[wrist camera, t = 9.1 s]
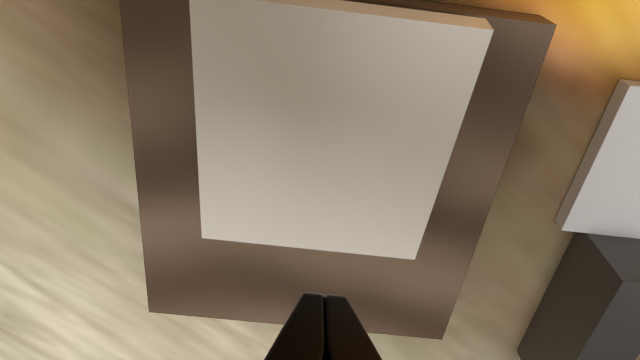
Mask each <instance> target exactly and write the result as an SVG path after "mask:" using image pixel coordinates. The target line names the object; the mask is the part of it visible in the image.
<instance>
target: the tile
mask: <svg viewBox="0 0 640 360" xmlns="http://www.w3.org/2000/svg"><path fill="white" fill-rule="evenodd" d="M189 6H190V25H191V44H192V63H193V81H194V100H195V119H196V138H197V157H198V176H199V195H200V214H201V233H202V238H205V239H215V240H225V241H235V242H245V243H254V244H264V245H274V246H284V247H294V248H304V249H313V250H323V251H333V252H343V253H353V254H363V255H372V256H382V257H392V258H402V259H412V260H415V258H416V255H417V252H418V249H419V246H420V243H421V240H422V237H423V234H424V231H425V229H426V226H427V223H428V220H429V217H430V214H431V211H432V208H433V205H434V202H435V199H436V197H437V194H438V191H439V188H440V185H441V182H442V179H443V176H444V173H445V170H446V168H447V165H448V162H449V159H450V156H451V153H452V150H453V147H454V144H455V141H456V139H457V136H458V133H459V130H460V127H461V124H462V121H463V118H464V115H465V112H466V110H467V107H468V104H469V101H470V98H471V95H472V92H473V89H474V86H475V83H476V81H477V78H478V75H479V72H480V69H481V66H482V63H483V60H484V57H485V54H486V52H487V49H488V46H489V43H490V40H491V37H492V34H493V31H494V30H493V28H492V27H491V25H490V24H489V23H488V21H487V20H486V18H478V17H470V16H462V15H454V14H446V13H438V12H430V11H422V10H414V9H407V8H399V7H391V6H383V5H375V4H367V3H359V2H351V1H343V0H189Z"/></svg>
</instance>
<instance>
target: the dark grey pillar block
mask: <svg viewBox="0 0 640 360" xmlns="http://www.w3.org/2000/svg"><path fill="white" fill-rule="evenodd" d="M555 222H556V223H557V225H558V226H559V228H560V229H561V230H562V231H571V232H575V233H574V235H573V237H572V239H571V241H570V243H569V245H568V247H567V249H566V251H565V253H564V255H563V257H562V259H561V261H560V263H559V265H558V267H557V269H556V271H555V273H554V275H553V277H552V280H551V282H550V284H549V286H548V288H547V290H546V292H545V294H544V296H543V298H542V300H541V302H540V304H539V306H538V308H537V310H536V312H535V314H534V316H533V318H532V320H531V322H530V324H529V326H528V328H527V330H526V332H525V334H524V336H523V338H522V340H521V342H520V344H519V346H518V348H517V351H518V354H519V356H520V359H521V360H635V359H636V358H637V356H638V355H639V353H640V81H632V80H624V79H619V81H618V84H617V86H616V88H615V90H614V92H613V95H612V97H611V99H610V101H609V103H608V105H607V108H606V110H605V112H604V114H603V116H602V119H601V121H600V123H599V125H598V127H597V129H596V132H595V134H594V136H593V138H592V140H591V143H590V145H589V147H588V149H587V151H586V153H585V156H584V158H583V160H582V162H581V164H580V167H579V169H578V171H577V173H576V175H575V177H574V180H573V182H572V184H571V186H570V188H569V191H568V193H567V195H566V197H565V199H564V201H563V204H562V206H561V208H560V210H559V212H558V215H557V217H556V219H555Z"/></svg>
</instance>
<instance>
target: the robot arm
mask: <svg viewBox="0 0 640 360" xmlns="http://www.w3.org/2000/svg"><path fill="white" fill-rule="evenodd" d="M264 360H382V359H381V357H380V355H379V354H378V352H377V350H376V348H375V347H374V345H373V343H372V341H371V340H370V338H369V336H368V334H367V333H366V331H365V329H364V327H363V326H362V324H361V322H360V320H359V319H358V317H357V315H356V313H355V312H354V310H353V308H352V306H351V305H350V303H349V301H348V300H347V298H346V297H345V296H340V295H330V294H328V295H326V296H325V297H324V296H323V295H322V294H319V293H308V292H305V293H303V294H302V295H301V297H300V299H299V300H298V302H297V304H296V305H295V307H294V309H293V311H292V312H291V314H290V316H289V318H288V319H287V321H286V323H285V325H284V326H283V328H282V330H281V332H280V333H279V335H278V337H277V338H276V340H275V342H274V344H273V345H272V347H271V349H270V351H269V352H268V354H267V356H266V358H265V359H264Z"/></svg>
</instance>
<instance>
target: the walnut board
mask: <svg viewBox="0 0 640 360" xmlns="http://www.w3.org/2000/svg"><path fill="white" fill-rule="evenodd" d="M119 1H120V11H121V22H122V33H123V43H124V54H125V64H126V75H127V85H128V96H129V106H130V117H131V127H132V138H133V148H134V159H135V169H136V180H137V190H138V201H139V211H140V222H141V232H142V243H143V253H144V264H145V274H146V285H147V295H148V306H149V312H154V313H165V314H176V315H186V316H197V317H208V318H218V319H229V320H240V321H250V322H261V323H271V324H282V325H285V323H286V321H287V319H288V318H289V316H290V314H291V312H292V311H293V309H294V307H295V305H296V304H297V302H298V300H299V299H300V297H301V295H302V294H303V293H305V292H308V293H319V294H322V295H323V296H324V297H325V296H326V295H328V294H330V295H340V296H345V297H346V298H347V300H348V301H349V303H350V305H351V306H352V308H353V310H354V312H355V313H356V315H357V317H358V319H359V320H360V322H361V324H362V326H363V327H364V329H365V331H366V332H367V333H378V334H389V335H399V336H410V337H421V338H431V339H442V338H443V335H444V332H445V330H446V327H447V324H448V322H449V319H450V316H451V313H452V311H453V308H454V305H455V302H456V300H457V297H458V294H459V291H460V289H461V286H462V283H463V280H464V278H465V275H466V272H467V269H468V267H469V264H470V261H471V258H472V256H473V253H474V250H475V247H476V245H477V242H478V239H479V237H480V234H481V231H482V228H483V226H484V223H485V220H486V217H487V215H488V212H489V209H490V206H491V204H492V201H493V198H494V195H495V193H496V190H497V187H498V184H499V182H500V179H501V176H502V173H503V171H504V168H505V165H506V162H507V160H508V157H509V154H510V152H511V149H512V146H513V143H514V141H515V138H516V135H517V132H518V130H519V127H520V124H521V121H522V119H523V116H524V113H525V110H526V108H527V105H528V102H529V99H530V97H531V94H532V91H533V88H534V86H535V83H536V80H537V77H538V75H539V72H540V69H541V67H542V64H543V61H544V58H545V56H546V53H547V50H548V47H549V45H550V42H551V39H552V36H553V34H554V31H555V28H556V24H554V23H552V22H551V21H549V20H547V19H546V18H544V17H542V16H540V15H533V14H525V13H517V12H510V11H502V10H494V9H486V8H478V7H470V6H463V5H455V4H447V3H439V2H431V1H423V0H343V1H351V2H359V3H367V4H375V5H383V6H391V7H399V8H407V9H414V10H422V11H430V12H438V13H446V14H454V15H462V16H470V17H478V18H486V20H487V21H488V23H489V24H490V25H491V27H492V28H493V30H494V31H493V34H492V37H491V40H490V43H489V46H488V49H487V52H486V54H485V57H484V60H483V63H482V66H481V69H480V72H479V75H478V78H477V81H476V83H475V86H474V89H473V92H472V95H471V98H470V101H469V104H468V107H467V110H466V112H465V115H464V118H463V121H462V124H461V127H460V130H459V133H458V136H457V139H456V141H455V144H454V147H453V150H452V153H451V156H450V159H449V162H448V165H447V168H446V170H445V173H444V176H443V179H442V182H441V185H440V188H439V191H438V194H437V197H436V199H435V202H434V205H433V208H432V211H431V214H430V217H429V220H428V223H427V226H426V229H425V231H424V234H423V237H422V240H421V243H420V246H419V249H418V252H417V255H416V258H415V260H412V259H402V258H392V257H382V256H372V255H363V254H353V253H343V252H333V251H323V250H313V249H304V248H294V247H284V246H274V245H264V244H254V243H245V242H235V241H225V240H215V239H205V238H202V233H201V214H200V195H199V176H198V157H197V138H196V119H195V100H194V81H193V63H192V44H191V25H190V6H189V0H119Z"/></svg>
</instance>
